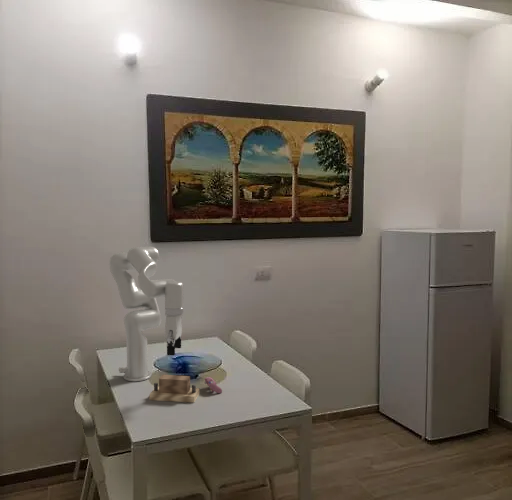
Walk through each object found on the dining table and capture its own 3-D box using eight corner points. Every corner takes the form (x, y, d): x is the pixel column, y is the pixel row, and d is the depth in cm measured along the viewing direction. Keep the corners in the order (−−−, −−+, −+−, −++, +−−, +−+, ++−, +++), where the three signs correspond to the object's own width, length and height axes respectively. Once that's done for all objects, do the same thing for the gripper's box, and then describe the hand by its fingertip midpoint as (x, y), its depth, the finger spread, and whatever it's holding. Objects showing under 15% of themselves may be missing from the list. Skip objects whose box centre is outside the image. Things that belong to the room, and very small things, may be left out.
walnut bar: (159, 392, 201) (158, 378, 200) (163, 388, 205) (162, 374, 205) (186, 394, 199) (186, 380, 198) (190, 389, 204) (190, 376, 203)
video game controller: (207, 389, 215) (201, 377, 213) (216, 384, 216) (210, 371, 214) (214, 398, 206) (207, 384, 204) (223, 392, 207) (216, 379, 205)
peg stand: (149, 400, 199) (149, 387, 198) (156, 391, 208) (156, 379, 207) (194, 402, 197) (194, 389, 196) (199, 393, 206) (199, 381, 205)
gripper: (171, 306, 208) (171, 345, 210) (159, 315, 191) (159, 357, 193) (188, 307, 207) (188, 345, 209) (177, 316, 190) (177, 358, 192)
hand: (174, 351), depth 201 cm, fingers open, 9 cm apart
